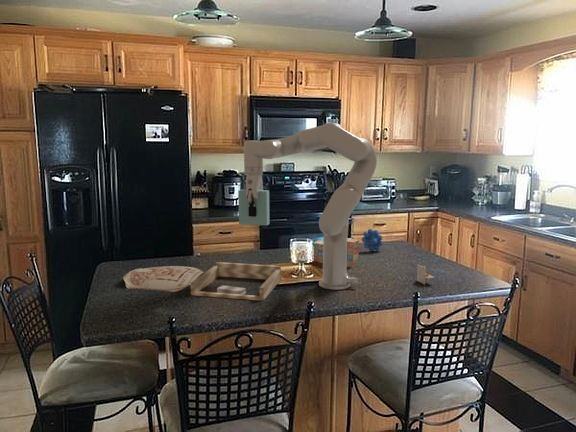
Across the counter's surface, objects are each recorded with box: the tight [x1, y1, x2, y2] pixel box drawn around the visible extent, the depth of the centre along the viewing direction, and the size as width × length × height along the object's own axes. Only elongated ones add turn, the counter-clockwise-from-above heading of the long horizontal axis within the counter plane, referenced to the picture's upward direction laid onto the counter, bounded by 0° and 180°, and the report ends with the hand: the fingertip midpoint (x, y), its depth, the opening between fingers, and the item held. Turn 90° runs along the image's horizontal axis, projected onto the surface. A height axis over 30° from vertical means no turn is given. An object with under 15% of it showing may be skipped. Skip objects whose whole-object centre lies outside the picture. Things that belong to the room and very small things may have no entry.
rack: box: [190, 261, 282, 302], centre depth 190 cm, size 28×27×7 cm
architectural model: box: [416, 264, 435, 285], centre depth 200 cm, size 3×7×7 cm, turn 18°
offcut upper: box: [216, 285, 247, 295], centre depth 183 cm, size 10×4×2 cm, turn 68°
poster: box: [122, 265, 205, 293], centre depth 204 cm, size 28×6×30 cm
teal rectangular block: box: [237, 189, 270, 226], centre depth 201 cm, size 12×4×14 cm, turn 77°
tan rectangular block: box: [312, 237, 360, 268], centre depth 229 cm, size 21×6×12 cm, turn 58°
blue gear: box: [361, 228, 384, 252], centre depth 250 cm, size 12×7×12 cm, turn 104°
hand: (254, 214), depth 201 cm, fingers closed on teal rectangular block, 4 cm apart
